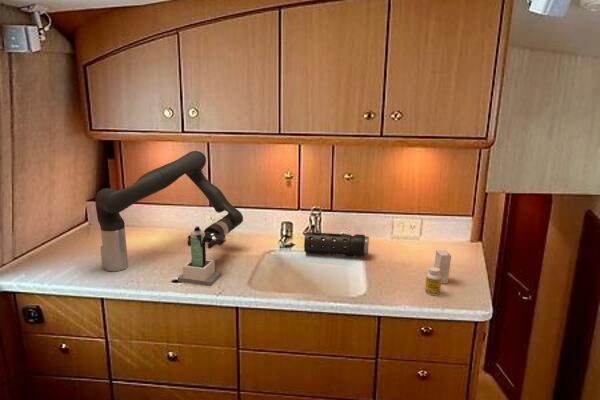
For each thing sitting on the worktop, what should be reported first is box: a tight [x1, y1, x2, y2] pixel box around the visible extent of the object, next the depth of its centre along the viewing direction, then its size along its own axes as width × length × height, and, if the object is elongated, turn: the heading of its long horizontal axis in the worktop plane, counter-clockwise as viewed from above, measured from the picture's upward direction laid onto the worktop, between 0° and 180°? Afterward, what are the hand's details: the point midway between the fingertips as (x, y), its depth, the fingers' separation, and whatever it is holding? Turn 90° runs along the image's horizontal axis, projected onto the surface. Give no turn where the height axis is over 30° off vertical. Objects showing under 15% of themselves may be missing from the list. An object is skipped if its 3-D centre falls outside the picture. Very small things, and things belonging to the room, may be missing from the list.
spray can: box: [189, 225, 207, 268], centre depth 192 cm, size 6×6×20 cm
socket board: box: [177, 259, 223, 287], centre depth 194 cm, size 14×10×6 cm
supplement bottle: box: [424, 266, 442, 296], centre depth 184 cm, size 5×5×10 cm
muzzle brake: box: [303, 231, 370, 258], centre depth 219 cm, size 10×28×10 cm, turn 81°
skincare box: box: [433, 249, 452, 284], centre depth 194 cm, size 6×4×12 cm
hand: (198, 245), depth 191 cm, fingers open, 8 cm apart
